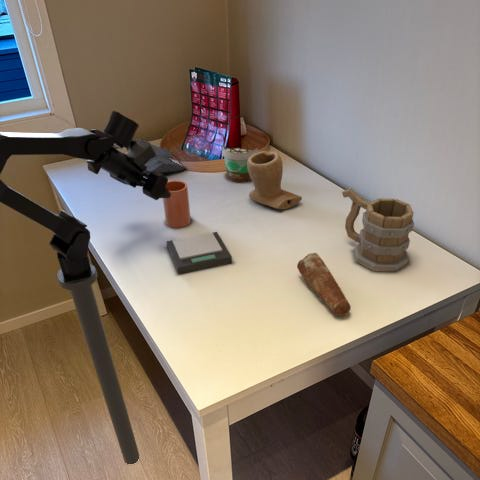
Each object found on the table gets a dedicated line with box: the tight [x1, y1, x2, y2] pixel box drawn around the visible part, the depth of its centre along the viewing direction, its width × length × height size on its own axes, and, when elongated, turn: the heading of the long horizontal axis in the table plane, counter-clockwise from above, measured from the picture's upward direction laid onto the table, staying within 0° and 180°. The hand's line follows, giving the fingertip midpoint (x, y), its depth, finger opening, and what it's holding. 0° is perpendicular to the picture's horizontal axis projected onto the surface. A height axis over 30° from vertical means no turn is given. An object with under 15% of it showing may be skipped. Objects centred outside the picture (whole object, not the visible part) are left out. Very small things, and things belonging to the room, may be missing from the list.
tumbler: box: [162, 180, 192, 229], centre depth 136 cm, size 7×7×11 cm
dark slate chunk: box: [144, 143, 186, 174], centre depth 169 cm, size 15×22×5 cm
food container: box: [221, 144, 260, 183], centre depth 157 cm, size 12×6×10 cm, turn 73°
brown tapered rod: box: [296, 252, 351, 317], centre depth 111 cm, size 6×19×6 cm, turn 17°
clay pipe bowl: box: [247, 150, 303, 210], centre depth 142 cm, size 15×12×15 cm
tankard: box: [341, 188, 415, 272], centre depth 121 cm, size 20×13×15 cm, turn 41°
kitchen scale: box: [165, 231, 233, 275], centre depth 126 cm, size 14×13×3 cm
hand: (159, 190), depth 130 cm, fingers open, 9 cm apart
